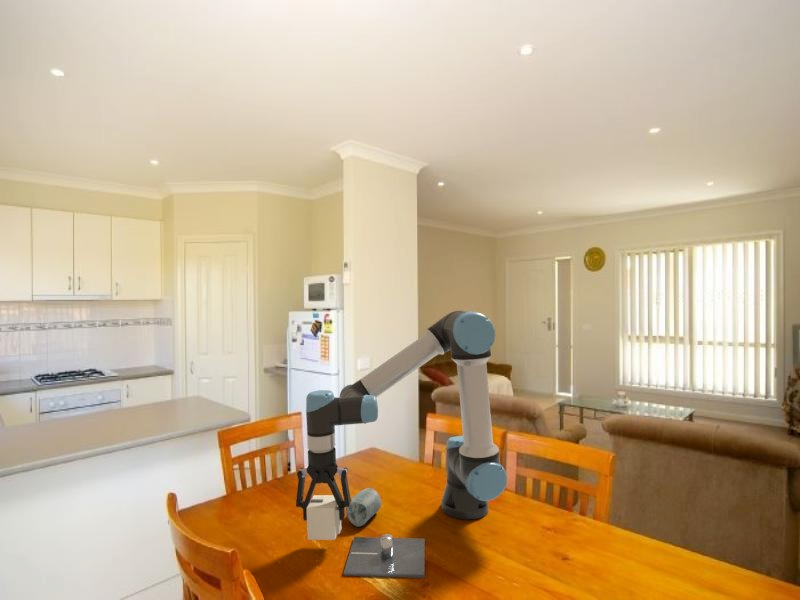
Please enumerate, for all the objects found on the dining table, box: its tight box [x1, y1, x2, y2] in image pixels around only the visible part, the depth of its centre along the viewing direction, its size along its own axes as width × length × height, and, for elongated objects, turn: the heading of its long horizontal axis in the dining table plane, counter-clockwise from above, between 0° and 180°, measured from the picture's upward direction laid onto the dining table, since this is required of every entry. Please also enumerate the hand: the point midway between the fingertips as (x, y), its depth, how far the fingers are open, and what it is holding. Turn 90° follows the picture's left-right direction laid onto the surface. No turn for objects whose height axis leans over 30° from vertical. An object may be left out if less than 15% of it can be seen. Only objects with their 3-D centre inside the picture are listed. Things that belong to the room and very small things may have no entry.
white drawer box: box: [306, 494, 338, 541], centre depth 119 cm, size 7×7×9 cm
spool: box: [345, 487, 382, 528], centre depth 136 cm, size 14×10×10 cm
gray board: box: [343, 533, 426, 579], centre depth 115 cm, size 20×16×5 cm
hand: (324, 531), depth 119 cm, fingers closed on white drawer box, 7 cm apart
